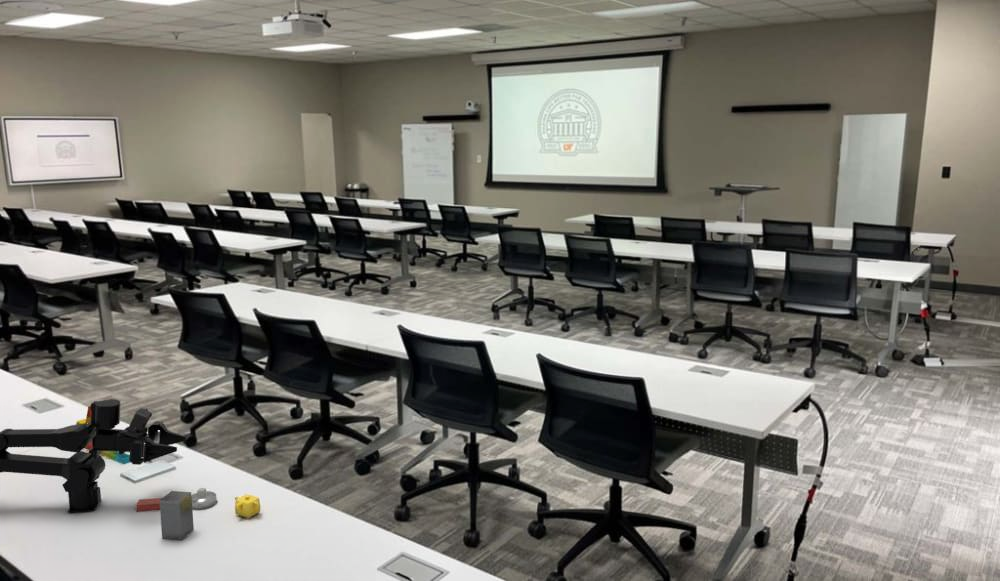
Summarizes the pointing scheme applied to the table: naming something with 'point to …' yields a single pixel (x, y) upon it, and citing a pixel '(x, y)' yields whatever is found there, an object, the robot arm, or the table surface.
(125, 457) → the chart
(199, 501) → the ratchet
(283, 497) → the table surface
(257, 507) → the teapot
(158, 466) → the hard drive
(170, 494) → the brushed steel square block
